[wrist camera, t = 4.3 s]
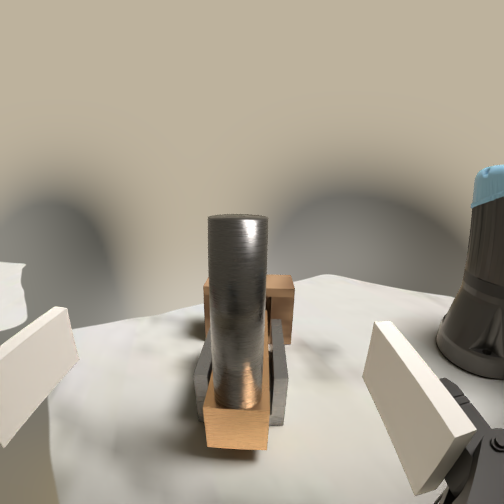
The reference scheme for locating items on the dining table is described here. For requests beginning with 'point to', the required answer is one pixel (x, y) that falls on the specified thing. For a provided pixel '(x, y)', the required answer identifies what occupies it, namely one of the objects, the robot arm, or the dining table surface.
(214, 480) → the dining table surface
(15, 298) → the dining table surface
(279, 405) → the channel
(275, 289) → the socket block
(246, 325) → the mallet
